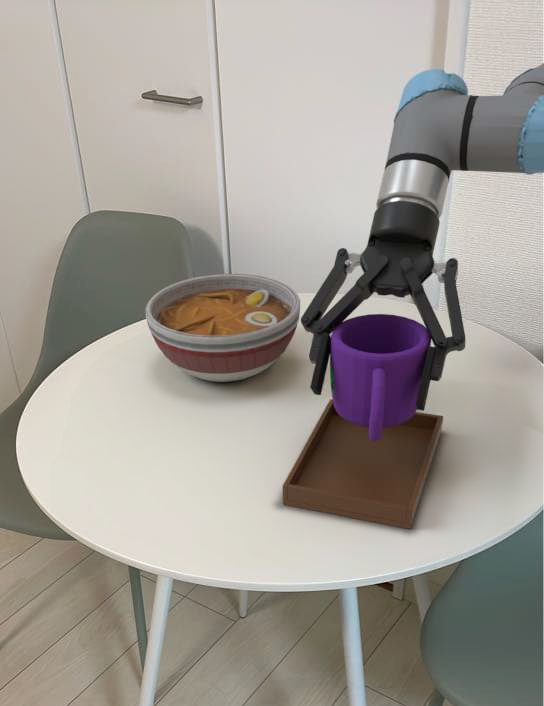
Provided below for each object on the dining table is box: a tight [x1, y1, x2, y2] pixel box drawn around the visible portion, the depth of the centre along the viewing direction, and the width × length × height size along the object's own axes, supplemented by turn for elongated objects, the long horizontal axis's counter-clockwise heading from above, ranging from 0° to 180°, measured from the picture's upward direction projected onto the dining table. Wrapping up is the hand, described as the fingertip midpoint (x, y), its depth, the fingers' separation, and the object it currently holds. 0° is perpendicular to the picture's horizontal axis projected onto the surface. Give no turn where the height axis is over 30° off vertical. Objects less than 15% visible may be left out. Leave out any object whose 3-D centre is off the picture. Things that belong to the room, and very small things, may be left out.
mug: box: [329, 313, 432, 441], centre depth 87 cm, size 17×11×10 cm, turn 171°
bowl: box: [145, 273, 301, 383], centre depth 114 cm, size 23×23×10 cm
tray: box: [282, 398, 444, 530], centre depth 94 cm, size 15×21×3 cm
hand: (366, 399), depth 86 cm, fingers closed on mug, 11 cm apart
